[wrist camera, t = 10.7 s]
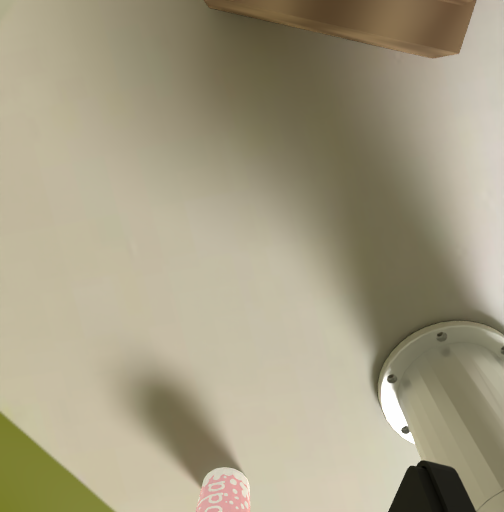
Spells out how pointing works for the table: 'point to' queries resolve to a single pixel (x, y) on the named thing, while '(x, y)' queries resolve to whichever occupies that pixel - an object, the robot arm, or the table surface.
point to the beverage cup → (224, 492)
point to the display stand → (369, 20)
